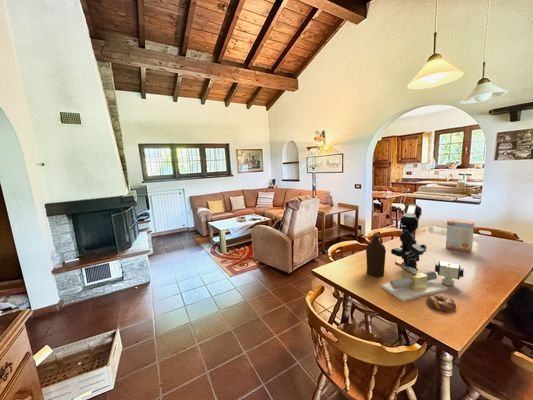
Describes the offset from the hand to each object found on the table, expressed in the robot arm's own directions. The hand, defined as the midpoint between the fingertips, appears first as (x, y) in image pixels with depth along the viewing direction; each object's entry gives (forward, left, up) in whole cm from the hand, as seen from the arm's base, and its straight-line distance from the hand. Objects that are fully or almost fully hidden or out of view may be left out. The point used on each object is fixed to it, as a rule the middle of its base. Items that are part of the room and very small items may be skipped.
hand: (407, 264), depth 128 cm
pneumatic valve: (+12, +15, -9) cm, 21 cm away
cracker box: (-19, +68, -9) cm, 71 cm away
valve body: (+9, -5, -7) cm, 13 cm away
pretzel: (+24, -5, -9) cm, 26 cm away
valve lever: (+4, -5, 0) cm, 7 cm away
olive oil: (-11, -11, -9) cm, 18 cm away
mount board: (+9, -5, -9) cm, 14 cm away
